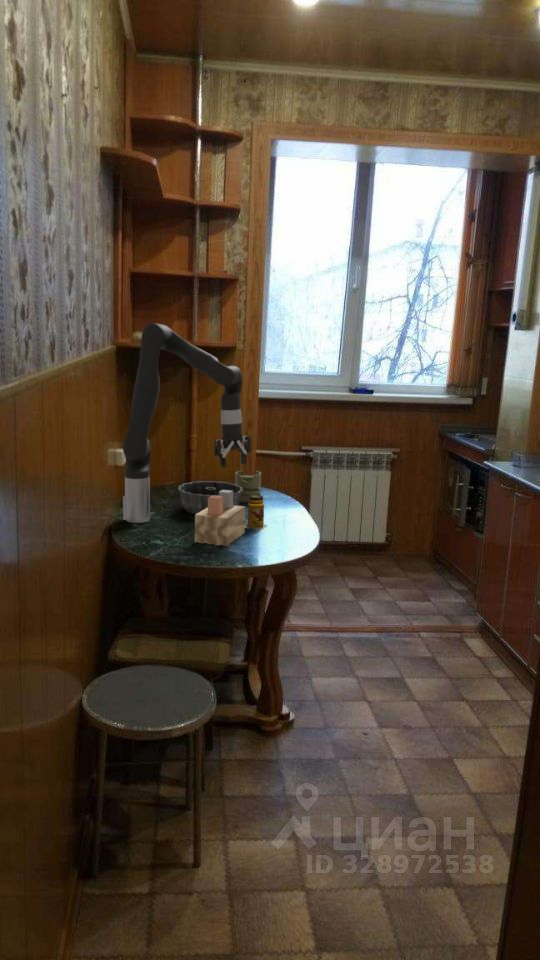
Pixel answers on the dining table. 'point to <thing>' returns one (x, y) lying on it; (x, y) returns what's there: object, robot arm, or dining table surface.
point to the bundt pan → (205, 494)
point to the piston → (248, 484)
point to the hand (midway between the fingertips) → (233, 465)
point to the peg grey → (227, 498)
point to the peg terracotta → (215, 505)
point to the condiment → (255, 512)
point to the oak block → (220, 526)
